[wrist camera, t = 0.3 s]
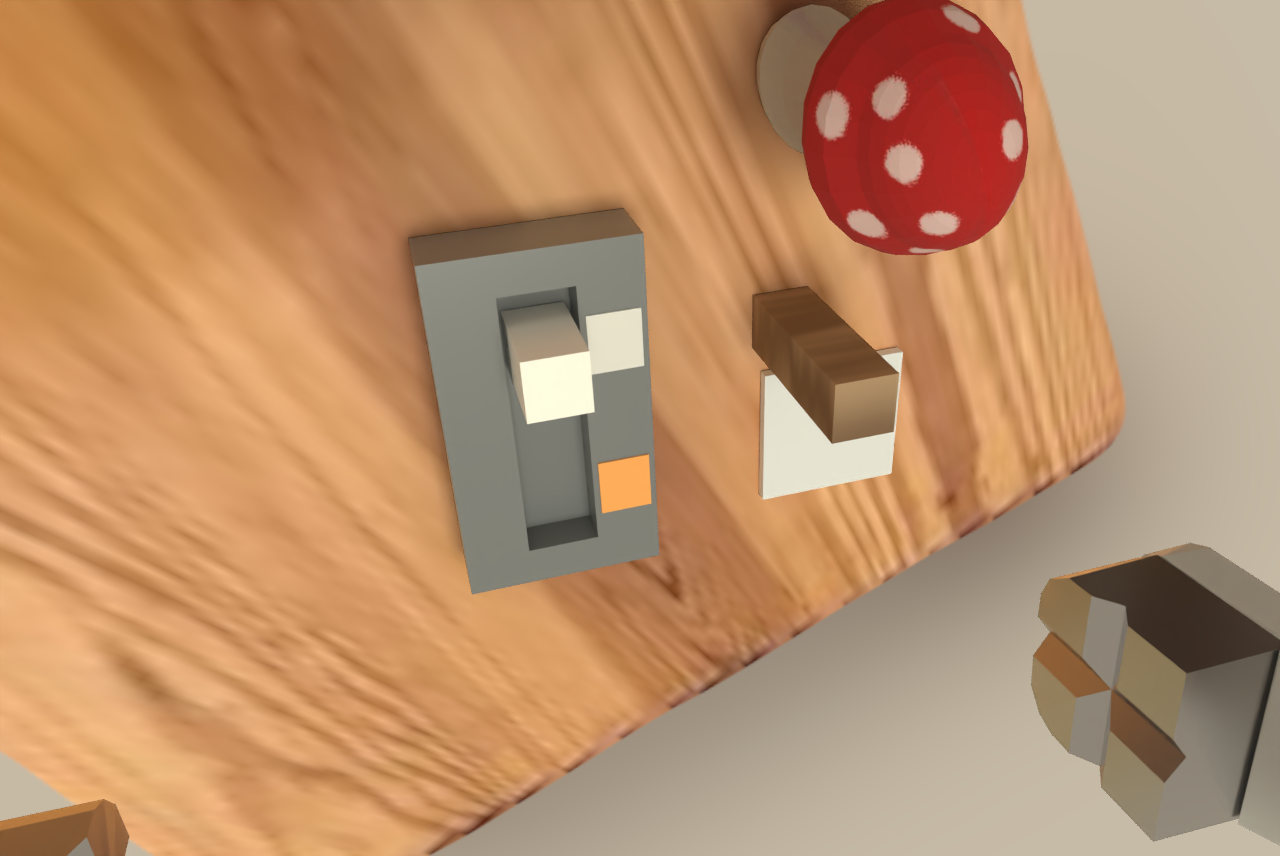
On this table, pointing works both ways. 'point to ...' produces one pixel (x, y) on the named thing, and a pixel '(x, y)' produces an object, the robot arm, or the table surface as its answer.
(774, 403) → the pad
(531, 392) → the switch tab
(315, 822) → the table surface
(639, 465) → the switch panel
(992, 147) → the decorative mushroom
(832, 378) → the brown wooden beam
